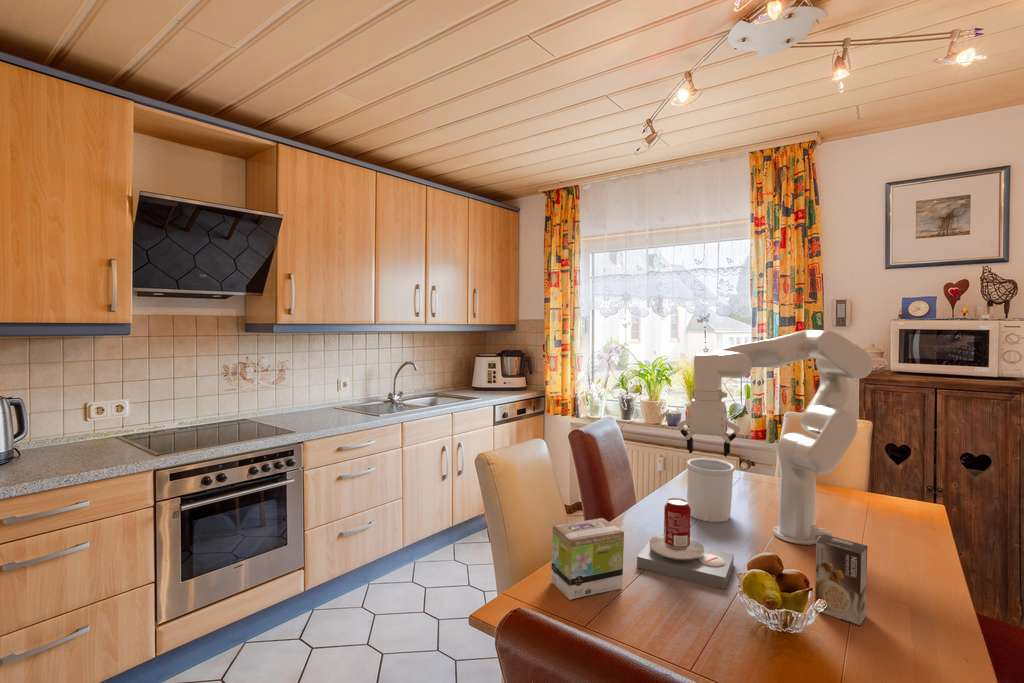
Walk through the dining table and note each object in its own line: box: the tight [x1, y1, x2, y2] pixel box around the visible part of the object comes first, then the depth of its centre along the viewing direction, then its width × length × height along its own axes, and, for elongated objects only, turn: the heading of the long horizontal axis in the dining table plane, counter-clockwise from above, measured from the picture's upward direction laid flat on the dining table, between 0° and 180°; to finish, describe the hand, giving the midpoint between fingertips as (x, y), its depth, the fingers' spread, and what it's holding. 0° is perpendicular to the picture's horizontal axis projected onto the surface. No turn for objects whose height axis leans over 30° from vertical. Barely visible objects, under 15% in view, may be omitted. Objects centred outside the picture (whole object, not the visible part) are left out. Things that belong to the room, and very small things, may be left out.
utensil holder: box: [686, 457, 735, 523], centre depth 177 cm, size 15×15×18 cm
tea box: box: [550, 517, 625, 601], centre depth 130 cm, size 15×10×15 cm, turn 114°
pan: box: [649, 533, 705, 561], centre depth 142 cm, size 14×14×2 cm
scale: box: [636, 536, 735, 590], centre depth 141 cm, size 22×15×4 cm
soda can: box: [663, 497, 692, 549], centre depth 142 cm, size 7×7×12 cm
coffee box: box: [814, 534, 868, 626], centre depth 119 cm, size 9×6×16 cm
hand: (708, 453), depth 154 cm, fingers open, 9 cm apart
